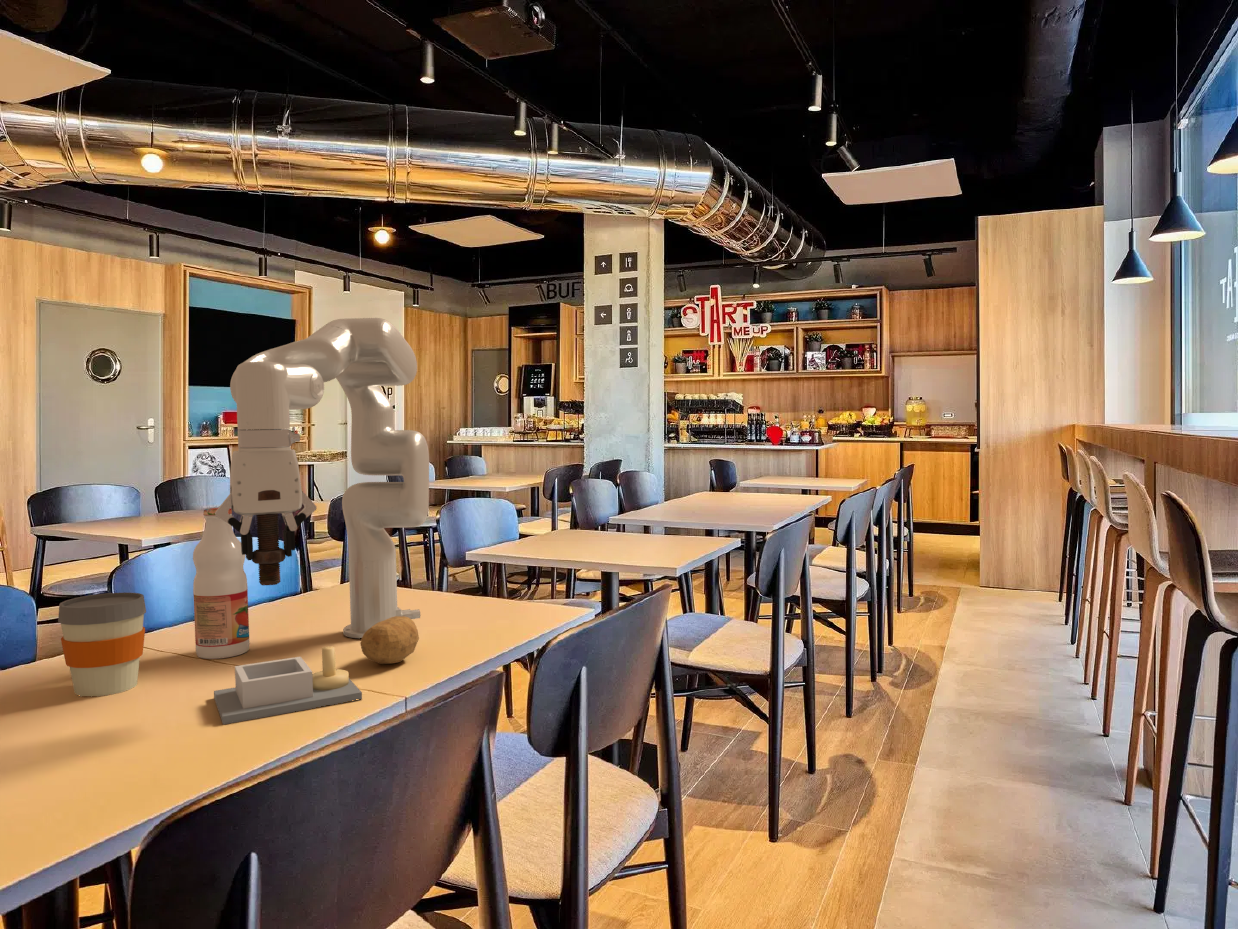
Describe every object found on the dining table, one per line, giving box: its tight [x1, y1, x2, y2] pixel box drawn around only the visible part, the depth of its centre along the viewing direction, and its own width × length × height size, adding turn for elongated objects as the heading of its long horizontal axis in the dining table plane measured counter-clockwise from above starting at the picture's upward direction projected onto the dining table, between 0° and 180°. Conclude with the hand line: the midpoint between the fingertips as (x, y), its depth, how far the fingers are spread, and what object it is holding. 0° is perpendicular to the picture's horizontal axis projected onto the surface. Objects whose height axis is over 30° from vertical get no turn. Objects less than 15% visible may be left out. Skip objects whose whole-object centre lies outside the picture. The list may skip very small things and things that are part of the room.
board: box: [213, 646, 363, 725], centre depth 133 cm, size 20×14×7 cm
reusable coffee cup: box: [57, 592, 147, 698], centre depth 139 cm, size 13×12×15 cm
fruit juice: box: [192, 507, 251, 660], centre depth 160 cm, size 9×9×28 cm
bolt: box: [251, 490, 287, 586], centre depth 130 cm, size 6×5×15 cm
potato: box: [359, 616, 420, 665], centre depth 153 cm, size 10×14×8 cm
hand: (268, 556), depth 131 cm, fingers closed on bolt, 5 cm apart
